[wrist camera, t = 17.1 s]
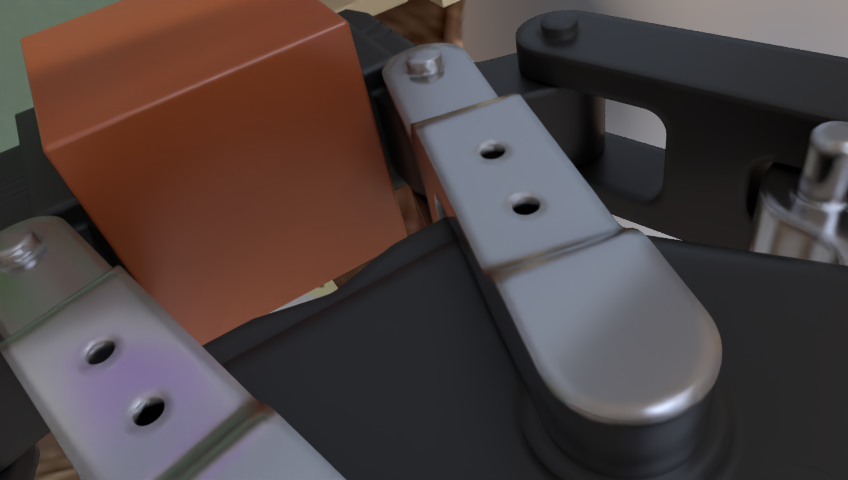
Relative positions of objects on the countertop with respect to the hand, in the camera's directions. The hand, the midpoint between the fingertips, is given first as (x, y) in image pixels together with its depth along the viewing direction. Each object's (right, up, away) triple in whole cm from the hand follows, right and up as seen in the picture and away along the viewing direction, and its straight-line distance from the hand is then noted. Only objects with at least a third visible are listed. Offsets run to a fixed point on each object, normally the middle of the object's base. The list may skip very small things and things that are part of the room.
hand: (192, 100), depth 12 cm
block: (0, 0, 0) cm, 0 cm away
